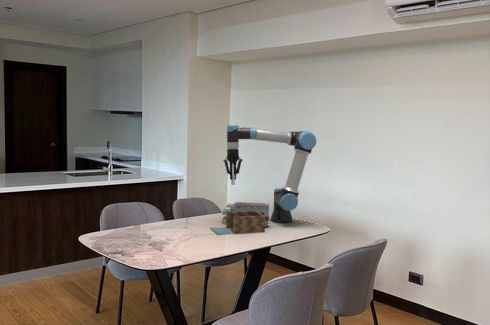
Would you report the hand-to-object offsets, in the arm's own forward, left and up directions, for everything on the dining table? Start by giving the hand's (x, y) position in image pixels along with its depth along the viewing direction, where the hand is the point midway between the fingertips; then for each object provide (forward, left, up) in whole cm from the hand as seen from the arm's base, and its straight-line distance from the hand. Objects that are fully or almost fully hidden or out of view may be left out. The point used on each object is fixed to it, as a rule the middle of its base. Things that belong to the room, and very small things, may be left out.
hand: (233, 184), depth 289 cm
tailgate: (+8, +18, -26) cm, 33 cm away
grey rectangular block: (-9, +1, -28) cm, 29 cm away
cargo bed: (-3, +18, -28) cm, 33 cm away
